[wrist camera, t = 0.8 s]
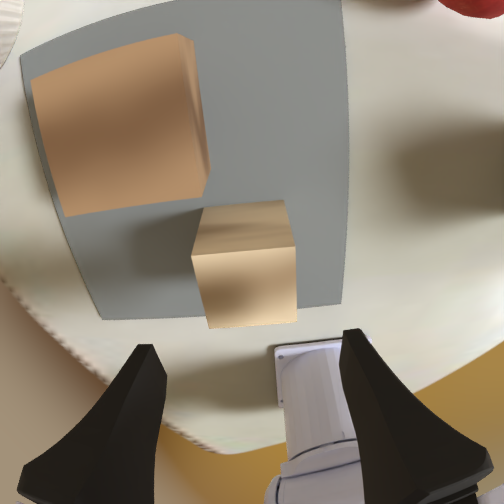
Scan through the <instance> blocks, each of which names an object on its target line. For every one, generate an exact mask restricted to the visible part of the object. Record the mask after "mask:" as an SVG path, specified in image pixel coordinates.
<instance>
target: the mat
mask: <svg viewBox="0 0 504 504" xmlns="http://www.w3.org/2000/svg"><path fill="white" fill-rule="evenodd" d="M175 33H178V34H180V35H182V36H184V37H186V38H189V39H191V40H193V41H194V48H195V56H196V64H197V72H198V79H199V87H200V94H201V102H202V109H203V116H204V123H205V130H206V137H207V144H208V151H209V158H210V164H211V170H210V173H209V176H208V179H207V182H206V186H205V189H204V192H203V195H202V197H199V198H190V199H182V200H174V201H167V202H159V203H152V204H145V205H138V206H131V207H124V208H118V209H111V210H105V211H99V212H93V213H87V214H81V215H75V216H69V217H65V215H64V212H63V209H62V206H61V203H60V200H59V197H58V194H57V190H56V187H55V184H54V181H53V177H52V174H51V170H50V167H49V163H48V160H47V156H46V152H45V148H44V144H43V140H42V136H41V132H40V127H39V123H38V118H37V114H36V109H35V104H34V98H33V93H32V87H31V81H30V80H32V79H34V78H37V77H39V76H41V75H43V74H46V73H48V72H50V71H53V70H55V69H58V68H60V67H63V66H65V65H68V64H70V63H73V62H76V61H78V60H81V59H84V58H87V57H90V56H93V55H96V54H99V53H102V52H105V51H108V50H111V49H115V48H118V47H122V46H125V45H129V44H133V43H136V42H140V41H144V40H148V39H152V38H157V37H161V36H166V35H171V34H175ZM20 58H21V66H22V73H23V80H24V86H25V92H26V97H27V103H28V108H29V113H30V118H31V122H32V127H33V131H34V135H35V139H36V144H37V147H38V151H39V155H40V159H41V162H42V166H43V170H44V173H45V176H46V180H47V183H48V186H49V190H50V193H51V196H52V199H53V202H54V205H55V208H56V211H57V214H58V217H59V219H60V222H61V225H62V228H63V230H64V233H65V236H66V238H67V241H68V243H69V246H70V249H71V251H72V254H73V256H74V258H75V261H76V263H77V266H78V268H79V270H80V273H81V275H82V277H83V280H84V282H85V284H86V286H87V288H88V291H89V293H90V295H91V297H92V299H93V301H94V304H95V306H96V308H97V310H98V312H99V314H100V316H101V318H102V320H129V319H159V318H181V317H199V316H206V315H205V311H204V307H203V303H202V299H201V295H200V291H199V287H198V283H197V279H196V275H195V271H194V267H193V262H192V258H191V254H192V250H193V246H194V242H195V239H196V235H197V231H198V227H199V224H200V220H201V216H202V213H203V209H204V207H213V206H222V205H232V204H242V203H253V202H263V201H275V200H284V203H285V207H286V211H287V215H288V219H289V223H290V227H291V231H292V235H293V239H294V243H295V249H296V291H297V309H300V308H310V307H319V306H328V305H337V304H341V300H342V289H343V278H344V265H345V252H346V236H347V216H348V188H349V111H348V84H347V65H346V51H345V38H344V27H343V16H342V7H341V0H174V1H169V2H165V3H161V4H156V5H152V6H148V7H144V8H140V9H137V10H133V11H130V12H126V13H123V14H120V15H116V16H113V17H110V18H107V19H104V20H101V21H98V22H95V23H93V24H90V25H87V26H84V27H82V28H79V29H77V30H74V31H72V32H69V33H67V34H64V35H62V36H60V37H57V38H55V39H53V40H51V41H48V42H46V43H44V44H42V45H40V46H38V47H36V48H34V49H32V50H30V51H28V52H26V53H24V54H22V55H20Z"/></svg>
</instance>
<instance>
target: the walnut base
mask: <svg viewBox="0 0 504 504" xmlns="http://www.w3.org/2000/svg"><path fill="white" fill-rule="evenodd" d="M30 81H31V87H32V93H33V98H34V104H35V109H36V114H37V118H38V123H39V127H40V132H41V136H42V140H43V144H44V148H45V152H46V156H47V160H48V163H49V167H50V170H51V174H52V177H53V181H54V184H55V187H56V190H57V194H58V197H59V200H60V203H61V206H62V209H63V212H64V215H65V217H69V216H75V215H81V214H87V213H93V212H99V211H105V210H111V209H118V208H124V207H131V206H138V205H145V204H152V203H159V202H167V201H174V200H182V199H190V198H199V197H202V195H203V192H204V189H205V186H206V182H207V179H208V176H209V173H210V170H211V164H210V158H209V151H208V144H207V137H206V130H205V123H204V116H203V109H202V102H201V94H200V87H199V79H198V72H197V64H196V56H195V48H194V41H193V40H191V39H189V38H186V37H184V36H182V35H180V34H178V33H175V34H171V35H166V36H161V37H157V38H152V39H148V40H144V41H140V42H136V43H133V44H129V45H125V46H122V47H118V48H115V49H111V50H108V51H105V52H102V53H99V54H96V55H93V56H90V57H87V58H84V59H81V60H78V61H76V62H73V63H70V64H68V65H65V66H63V67H60V68H58V69H55V70H53V71H50V72H48V73H46V74H43V75H41V76H39V77H37V78H34V79H32V80H30Z"/></svg>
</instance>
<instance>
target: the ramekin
mask: <svg viewBox="0 0 504 504" xmlns="http://www.w3.org/2000/svg"><path fill="white" fill-rule="evenodd" d="M23 12H24V0H0V68H1V67H2V65H3V63H4V62H5V60H6V59H7V57H8V55H9V53H10V51H11V49H12V47H13V45H14V43H15V40H16V38H17V35H18V33H19V29H20V26H21V22H22V18H23Z"/></svg>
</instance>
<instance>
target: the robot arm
mask: <svg viewBox="0 0 504 504" xmlns="http://www.w3.org/2000/svg"><path fill="white" fill-rule="evenodd" d="M371 343H372V339H371V337H370V336H365V335H364V333H363V332H362V330H361V329H359V328H357V329H350V330H343V338H342V339H338V340H331V341H323V342H314V343H305V344H296V345H286V346H278V347H276V348H275V349H274V355H275V368H276V381H277V395H278V406H279V407H280V408H284V418H285V430H286V442H287V454H288V462H285V463H281V464H280V466H281V475H277V476H275V477H274V478H273V479H272V481H271V483H270V485H269V486H268V488H267V490H266V493H265V498H264V504H504V484H502V485H500V486H498V487H497V488H495V489H493V490H491V491H489V492H487V493H485V494H483V495H481V496H479V497H476V494H475V492H477V491H478V486H477V482H479V481H480V480H482V479H483V478H485V477H486V476H487V475H489V474H490V473H491V472H492V471H493V469H494V466H493V464H492V461H491V458H490V455H489V453H488V451H487V449H486V448H485V447H483V446H481V445H479V444H478V443H476V442H474V441H472V440H470V439H469V438H467V437H466V436H464V435H463V434H461V433H460V432H458V431H457V430H455V429H454V428H452V427H451V426H450V425H448V424H447V423H446V422H444V421H443V420H442V419H440V418H439V417H438V416H436V415H435V414H434V413H433V412H432V411H430V410H429V409H428V408H427V407H426V406H425V405H423V403H422V402H421V401H419V400H418V399H417V398H416V397H415V396H414V395H413V394H412V393H411V392H410V391H409V390H408V388H407V387H406V386H405V385H404V384H403V383H402V382H401V381H400V380H399V379H398V377H397V376H396V375H395V374H394V373H393V372H392V370H391V369H390V368H389V367H388V365H387V364H386V363H385V362H384V360H383V359H382V358H381V357H380V355H379V354H378V353H377V351H376V350H375V349H374V347H373V346H372V345H371ZM280 355H281V356H280ZM166 386H167V374H166V372H165V370H164V368H163V366H162V364H161V362H160V360H159V357H158V355H157V353H156V351H155V349H154V346H153V344H138V345H137V346H136V348H135V349H134V351H133V352H132V354H131V355H130V357H129V358H128V360H127V361H126V363H125V364H124V366H123V367H122V368H121V370H120V371H119V373H118V374H117V376H116V377H115V378H114V380H113V381H112V383H111V384H110V385H109V387H108V388H107V390H106V391H105V392H104V393H103V395H102V396H101V397H100V399H99V400H98V401H97V403H96V404H95V405H94V406H93V407H92V409H91V410H90V411H89V412H88V413H87V414H86V416H85V417H84V418H83V419H82V420H81V421H80V422H79V423H78V424H77V425H76V426H75V427H74V428H73V429H72V430H71V431H70V432H69V433H68V434H66V435H65V436H64V437H63V438H62V439H61V440H60V441H59V442H57V443H56V444H55V445H54V446H52V447H51V448H50V449H48V450H47V451H46V452H44V453H43V454H42V455H40V456H39V457H37V458H35V459H34V460H32V461H31V462H29V463H28V464H26V465H24V467H23V470H22V473H21V476H20V480H19V483H18V487H17V491H18V493H19V494H21V495H22V496H24V497H26V498H27V499H29V500H31V501H33V502H35V503H37V504H154V467H155V452H156V445H157V439H158V434H159V429H160V424H161V419H162V414H163V409H164V404H165V398H166ZM16 504H23V503H21V502H18V501H17V502H16Z"/></svg>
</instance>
